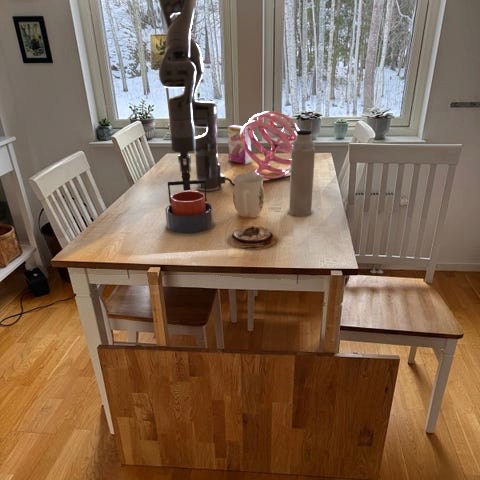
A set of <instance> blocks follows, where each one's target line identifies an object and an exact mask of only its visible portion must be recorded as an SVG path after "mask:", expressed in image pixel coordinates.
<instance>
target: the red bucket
mask: <svg viewBox="0 0 480 480" xmlns="http://www.w3.org/2000/svg"><path fill="white" fill-rule="evenodd" d="M196 184H204V191H203V192H202V191H197V190H190V191H184V190H183V191H179V192H175V193H173V194H171V186H183V180H173V181H167V190H168V199H169V205H171V206H172V214H174V215H180V216H190V215H197V214H201V213H204V212H206V205H205V202H206V203H208V200H207V191H206V182H205V180H197V179H192V180H191V179H190V185H196Z"/></svg>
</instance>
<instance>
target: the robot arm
mask: <svg viewBox="0 0 480 480" xmlns="http://www.w3.org/2000/svg"><path fill="white" fill-rule="evenodd" d="M158 3H159V7H160V9H161V13H162V16H163V19H164V22H165V26H166V29H167V32H166V36H165V52H164V55H163V57H162V58H161V59H162V60H161V61H160V65H159V69H158V79H159V82H160V84H161V85H162V86H163V87H164V88H167V89H179V88H181V89H182V92H183V93H181V94H179V95H176V96H175V95H174V96H171V97H170V98H169V99H168V102H167V105H168V107H167V108H168V116H169V117H168V118H169V137H170V147H171V151H172V152H173V153H180V154H179V155H178V156H177V158H178V159H177V160H178V164H179V173H181V179H182V181H183V185H182V187H183V189H182V190H183V191H191V184H190V180H191V174H190V173H191V172H192V167H191V165H192V164H191V163H192V157H191V155H190V154H188V153H189V152H193V151H194V157H195V158H194V159H195V160H194V161H195V169H196V170H195V172H196V173H195V175H196V180H205V182H206V192H214V191H218V190H220V189H222V185H223V184H226V181H227V182H229V183H230V185H231V186H233V187H235V183H234V182H233V181H232V179H230V178H229V177H226V175H224V174H222V172H221V171H222V170H221V165H220V164H219V151H218V150H219V149H218V147H219V146H218V107H217V104H216V103H215V102H214V101H198V100H197V97H196V92H197V89H198V87H199V85H200V82H201V80H202V78H203V75H204V69H205V68H204V63H203V57H202V52H201V49H200V47H199V45H198V44H197V43H196V42H195V40H194V39H193V38H192V37H191V29H192V25H193V19H194V14H195V9H196V8H195V7H196V0H158ZM195 128H201V129H203V128H204V129H205V128H206V132H205V133H203V134H202V135H198V136H196V134H195V133H196V132H195V131H196V130H195ZM288 178H289V179H290V174H287V175H286V176H284V177H280V178H275V179H263V183H264V184H265V183H271V182H275V181H280V180H284V179H288ZM195 185H196V189H197V190H198V191H199V192H204V184H195Z"/></svg>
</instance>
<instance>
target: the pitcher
mask: <svg viewBox="0 0 480 480" xmlns="http://www.w3.org/2000/svg"><path fill="white" fill-rule="evenodd" d="M255 171H256V170H247V171H245V172H244V173H241V174H238V175H235V176H234V177H233V183H234V184H235V186H234V188H233V193H232V200H233V205H234V208H235V210H236V212H237V214H238V215H239V216H240V217H242V218H243V217H244V218H251V219H254V218H258V217H259V215H260V214H261V212H262V211H263V207H264V203H265V189H264V186H263V180H264V178H263V176H261V175H262V174H261V175H259V174H257V173H256V172H255Z"/></svg>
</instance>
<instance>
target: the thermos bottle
mask: <svg viewBox="0 0 480 480" xmlns="http://www.w3.org/2000/svg"><path fill="white" fill-rule="evenodd" d="M292 145H293V147H292V148H291V153H290V160H291V165H290V167H291V172H290V173H289V175H290V177H289V207H288V211H289V212H288V213H289V214H290V215H292V216H296V217H305V216H309V215H311V214H312V211H313V210H312V207H313V191H314V189H313V188H314V175H315V174H314V173H315V158H316V157H315V156H316V148H315V147H314V145H315V144H314V140H313V139H312V130H311V129H299V130H298V131H297V136H296V140H295V141H293V143H292Z"/></svg>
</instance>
